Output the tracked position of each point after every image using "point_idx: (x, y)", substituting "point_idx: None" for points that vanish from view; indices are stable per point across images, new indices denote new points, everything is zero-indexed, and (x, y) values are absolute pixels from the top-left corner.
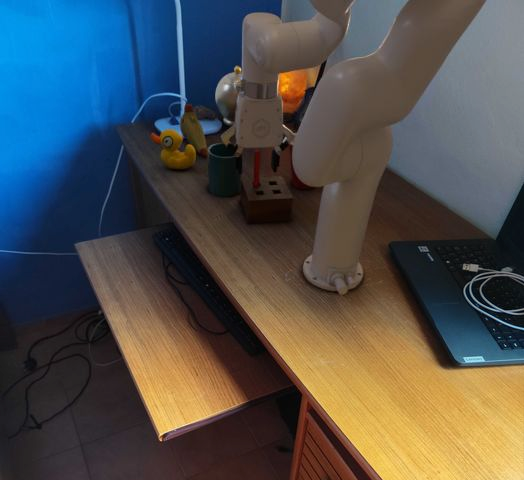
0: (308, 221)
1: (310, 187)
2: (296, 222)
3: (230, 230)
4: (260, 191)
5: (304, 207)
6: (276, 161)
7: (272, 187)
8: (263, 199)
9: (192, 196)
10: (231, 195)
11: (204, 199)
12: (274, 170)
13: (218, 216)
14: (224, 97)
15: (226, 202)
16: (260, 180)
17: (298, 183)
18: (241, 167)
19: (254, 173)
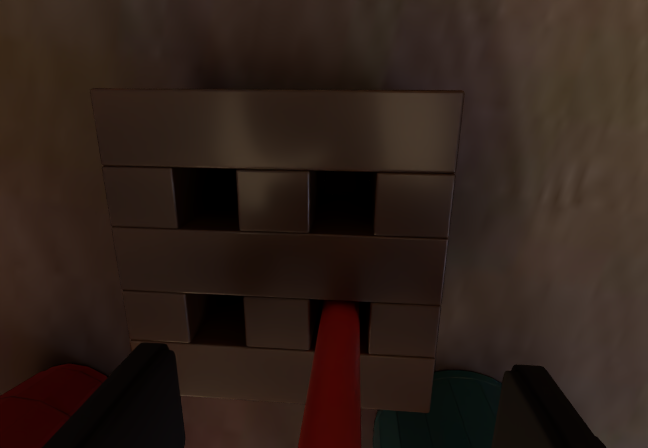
0: (88, 77)
1: (48, 369)
2: (154, 76)
3: (548, 43)
4: (328, 233)
5: (96, 215)
6: (73, 431)
7: (228, 265)
8: (334, 94)
9: (635, 400)
10: (440, 372)
11: (584, 366)
12: (157, 356)
13: (567, 201)
14: None
15: (480, 322)
16: (297, 367)
17: (91, 392)
18: (548, 422)
19: (357, 380)
